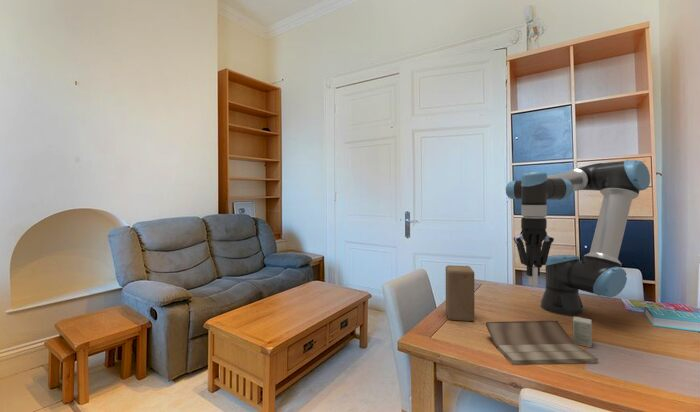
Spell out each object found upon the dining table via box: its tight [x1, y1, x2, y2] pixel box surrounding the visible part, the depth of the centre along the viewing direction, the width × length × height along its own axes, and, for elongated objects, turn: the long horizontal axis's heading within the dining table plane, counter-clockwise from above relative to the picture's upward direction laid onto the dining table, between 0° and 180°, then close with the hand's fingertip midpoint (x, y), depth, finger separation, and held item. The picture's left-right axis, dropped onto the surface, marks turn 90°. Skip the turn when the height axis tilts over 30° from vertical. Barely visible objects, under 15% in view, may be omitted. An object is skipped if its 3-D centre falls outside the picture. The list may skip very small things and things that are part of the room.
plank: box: [485, 320, 574, 349], centre depth 104 cm, size 25×9×1 cm
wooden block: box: [445, 264, 475, 322], centre depth 126 cm, size 10×10×20 cm
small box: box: [572, 316, 593, 348], centre depth 102 cm, size 5×4×8 cm
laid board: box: [497, 344, 599, 365], centre depth 95 cm, size 25×9×1 cm, turn 90°
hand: (533, 285), depth 107 cm, fingers closed
